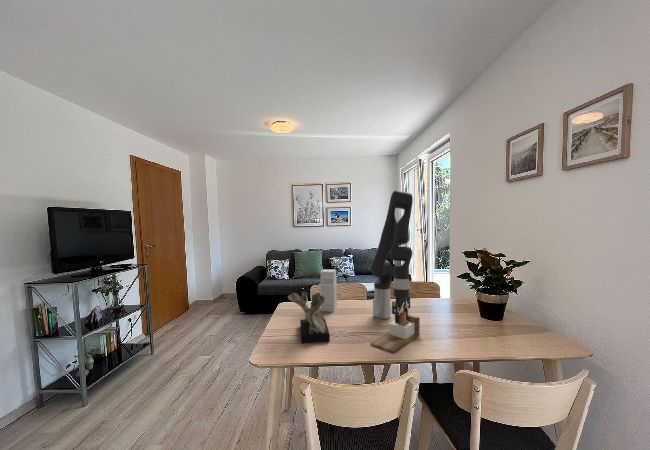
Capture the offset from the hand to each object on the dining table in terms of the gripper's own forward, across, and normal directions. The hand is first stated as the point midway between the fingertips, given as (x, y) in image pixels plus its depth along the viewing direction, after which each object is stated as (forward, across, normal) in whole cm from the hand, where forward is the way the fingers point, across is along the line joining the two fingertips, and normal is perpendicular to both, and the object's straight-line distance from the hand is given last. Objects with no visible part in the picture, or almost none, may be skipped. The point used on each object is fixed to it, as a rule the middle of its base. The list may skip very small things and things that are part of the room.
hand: (401, 319), depth 139 cm
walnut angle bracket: (+8, +5, 0) cm, 10 cm away
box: (+8, -7, -55) cm, 56 cm away
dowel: (+6, 0, 0) cm, 6 cm away
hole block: (+7, 0, 0) cm, 7 cm away
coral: (+9, +29, -36) cm, 47 cm away
